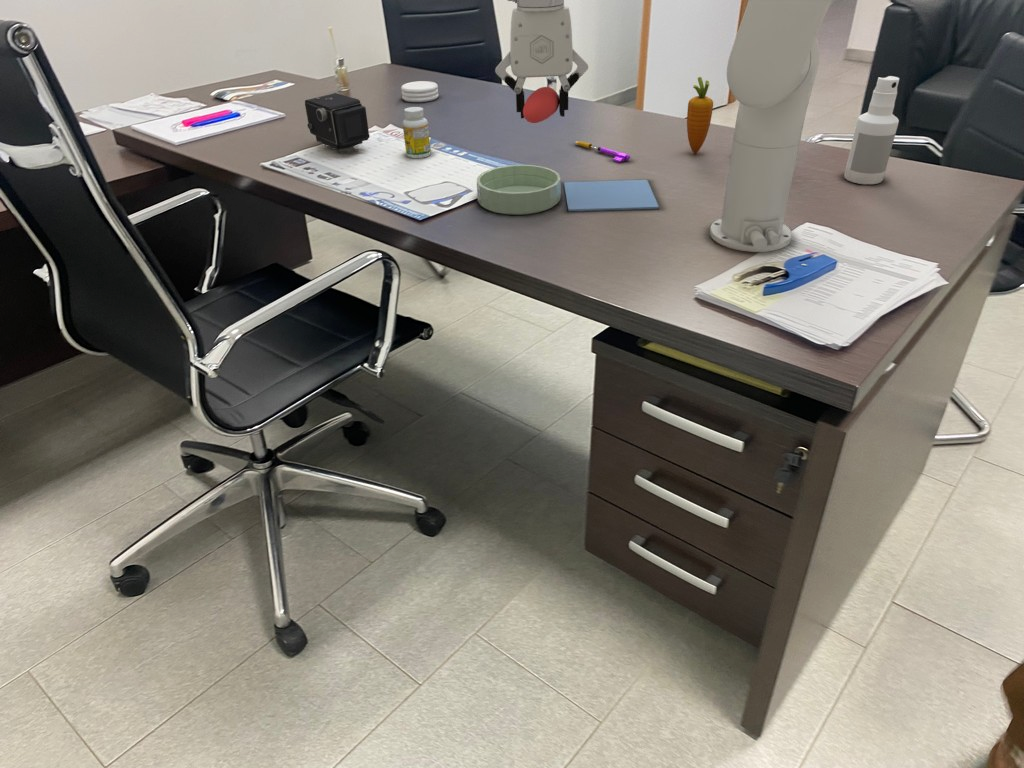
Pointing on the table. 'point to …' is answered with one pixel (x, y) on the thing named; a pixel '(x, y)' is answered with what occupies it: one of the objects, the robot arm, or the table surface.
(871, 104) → the spray bottle
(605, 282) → the table surface
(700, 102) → the carrot
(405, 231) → the table surface
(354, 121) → the camera
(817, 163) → the table surface
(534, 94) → the red oval piece
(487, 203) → the bowl
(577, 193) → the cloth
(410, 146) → the supplement bottle
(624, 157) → the purple and gold rod
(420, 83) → the coaster
